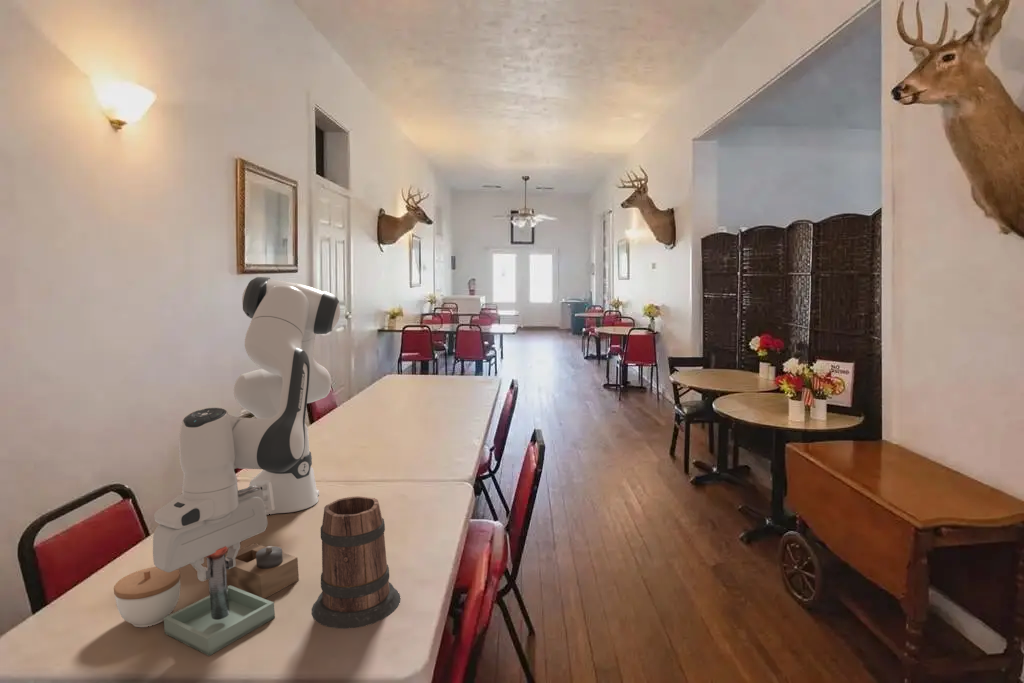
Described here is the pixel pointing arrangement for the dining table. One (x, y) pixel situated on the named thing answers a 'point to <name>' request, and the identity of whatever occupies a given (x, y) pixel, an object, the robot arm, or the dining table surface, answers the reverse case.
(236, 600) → the tray
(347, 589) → the tankard
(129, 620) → the lidded jar
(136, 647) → the dining table surface
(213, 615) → the lock pin
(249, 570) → the block
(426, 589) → the dining table surface
